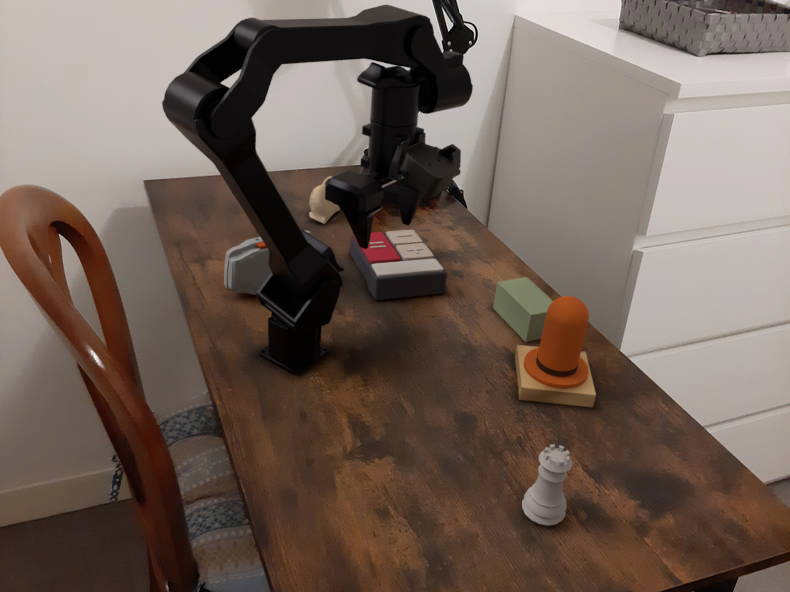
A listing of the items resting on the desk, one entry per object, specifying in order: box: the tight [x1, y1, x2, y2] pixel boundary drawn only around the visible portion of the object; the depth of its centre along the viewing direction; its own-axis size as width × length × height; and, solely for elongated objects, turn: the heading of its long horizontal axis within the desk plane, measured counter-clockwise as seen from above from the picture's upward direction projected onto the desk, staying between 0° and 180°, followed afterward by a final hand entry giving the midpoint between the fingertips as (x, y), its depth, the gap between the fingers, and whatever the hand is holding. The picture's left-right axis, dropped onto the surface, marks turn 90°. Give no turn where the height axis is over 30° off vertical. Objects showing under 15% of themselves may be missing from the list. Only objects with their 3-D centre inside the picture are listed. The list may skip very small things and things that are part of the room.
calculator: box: [349, 229, 448, 301], centre depth 116 cm, size 11×4×15 cm
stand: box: [514, 344, 597, 408], centre depth 95 cm, size 9×9×2 cm
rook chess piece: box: [521, 443, 573, 527], centre depth 75 cm, size 4×4×8 cm
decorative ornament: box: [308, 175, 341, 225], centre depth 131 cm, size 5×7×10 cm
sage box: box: [492, 276, 554, 343], centre depth 106 cm, size 5×9×4 cm, turn 24°
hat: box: [524, 295, 590, 388], centre depth 92 cm, size 8×8×10 cm
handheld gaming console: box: [223, 229, 315, 296], centre depth 108 cm, size 14×3×8 cm, turn 124°
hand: (385, 235), depth 98 cm, fingers open, 9 cm apart
